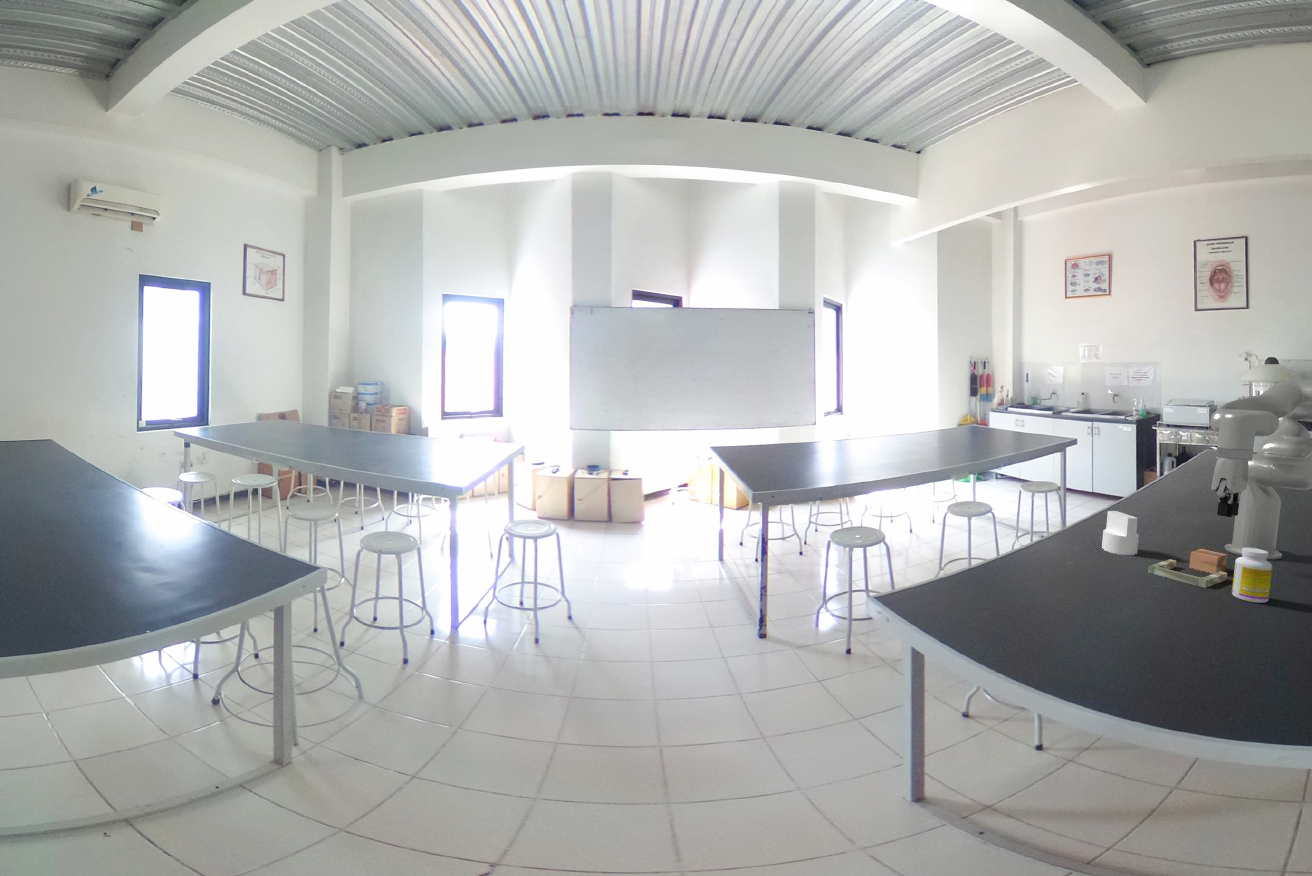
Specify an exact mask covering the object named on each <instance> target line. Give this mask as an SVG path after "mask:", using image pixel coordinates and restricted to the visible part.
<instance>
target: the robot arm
mask: <svg viewBox="0 0 1312 876" xmlns="http://www.w3.org/2000/svg"><path fill="white" fill-rule="evenodd" d="M1301 422H1312V379H1310V380H1309V379H1288V380H1282V381H1278V382H1277V383H1274V384H1273V386H1271V387H1270V388H1268V389H1267V390H1265V391H1264V392H1262V393H1261V394H1258V395H1253V396H1248V397H1244V398H1240V399H1239V398H1238V399H1235V400H1231V401H1229V402H1225V403H1224V404H1222V405H1221V406H1220V407H1218V408H1217V409H1215V410H1214V412H1213V413H1212V415H1211V416H1210V421H1209V425H1210V427H1211V429H1212V430H1213V431H1214V432H1215V433H1218V435H1217V436H1218V437H1217V443H1216V444H1217V445H1216V447H1217V448H1216V453H1215V458H1216V459H1217V460H1216V462H1215V466H1214V470H1213V476H1212V480H1211V481H1212V482H1211V487H1210V489H1211V491H1212V492H1216V496H1217V497H1218V499H1217V502H1218V503H1217V504H1218V505H1217V513H1216V515H1217V516H1220V517H1226V518H1232V517H1233V516H1234V523H1233V531H1232V540H1231V543H1228V544H1224V550H1225V551H1227V552H1228V553H1231V554H1235V555H1237V556H1240V557H1242V556H1243V554H1242V548H1256V549H1261V550H1264V551H1267V552H1268V557H1267V558H1266V560H1279V559H1282V558H1283V553H1281V552H1280V551H1278V550H1276V547H1277V546H1276V545H1277V539H1278V532H1279V531H1278V530H1279V524H1280V523H1279V522H1280V515H1281V507H1282V506H1281V505H1282V501H1281V497H1280V495H1279V494H1278V492H1277V491H1276V490H1275V489H1274V488H1284V489H1289V490H1290V489H1291V490H1299V491H1307V490H1308V491H1309V490H1312V437H1311V434H1310V432H1309V430H1308V429H1307V428H1306V427H1305V426H1304V425H1303V424H1302V423H1301ZM1256 437H1266V438H1265V439H1264V440H1263V441H1262V443H1261V444H1260V445H1259V447H1258V449H1257V452H1256V453H1254V447H1255V438H1256Z"/></svg>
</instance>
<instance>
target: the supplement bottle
mask: <svg viewBox="0 0 1312 876" xmlns="http://www.w3.org/2000/svg"><path fill="white" fill-rule="evenodd" d="M1242 554H1243V556H1240V557H1239V556H1238V557H1236V559H1235V561H1234V562H1235V563H1234V573H1233V580H1232V586H1231V587H1232V588H1231V594H1232V596H1233V597H1235V598H1237V599H1239V600H1242V601H1246V602H1250V603H1258V604H1259V603H1263V604H1264V603H1267V602H1268V601H1269V597H1270V590H1271V581H1272V574H1273V564H1272V563H1271V562H1269V561H1268V560H1267V559H1266V558H1267V557H1268V552H1267V551H1264V550H1261V549H1256V548H1242Z"/></svg>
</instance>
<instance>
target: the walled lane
mask: <svg viewBox="0 0 1312 876" xmlns="http://www.w3.org/2000/svg"><path fill="white" fill-rule="evenodd" d="M1174 567H1175V568H1176V567H1177V560H1174V559H1166V560H1162V561H1160V562H1157V563H1154V564H1151V565H1148V567H1147V568H1148V569H1147V574H1151V575H1156V576H1159V577H1163V578H1166V577H1167V579H1171V580H1175V581H1178V582H1182V583H1186V584H1190V585H1193V586H1196V587H1200V588H1208V587H1211V586H1214V585H1217V584H1219V583H1223V582H1225V581H1227V579H1228V572H1226V571H1223V572H1221V571H1220V572H1217V573H1214V574H1212V573H1211V574H1209V575H1207V576H1203V577H1200V576H1196V575H1191V574H1187V573H1183V572H1179V571H1175V570H1172V569H1174Z"/></svg>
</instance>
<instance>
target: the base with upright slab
mask: <svg viewBox="0 0 1312 876" xmlns="http://www.w3.org/2000/svg"><path fill="white" fill-rule="evenodd" d="M1106 517H1107V518H1106V527H1105V529H1103V530H1102V541H1101V549H1102V548H1103V549H1104V550H1103V549H1102V550H1103V551H1106V552H1107V551H1108V553H1110V554H1111V553H1112V554H1115V553H1116V554H1115V555H1121V556H1123V555H1124V556H1135V554H1136V555H1137V554H1138V546H1139V535H1140V534H1139V533H1137V529H1138V519H1139V518H1138V517H1136V516H1133V515H1131V514H1130V515H1129V514H1127V513H1125V512H1121V511H1117V510H1107V515H1106Z"/></svg>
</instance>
